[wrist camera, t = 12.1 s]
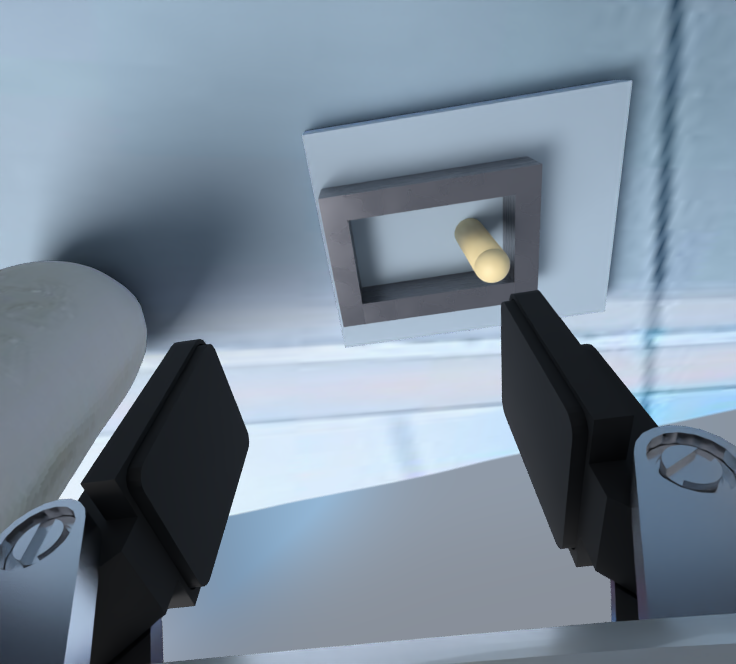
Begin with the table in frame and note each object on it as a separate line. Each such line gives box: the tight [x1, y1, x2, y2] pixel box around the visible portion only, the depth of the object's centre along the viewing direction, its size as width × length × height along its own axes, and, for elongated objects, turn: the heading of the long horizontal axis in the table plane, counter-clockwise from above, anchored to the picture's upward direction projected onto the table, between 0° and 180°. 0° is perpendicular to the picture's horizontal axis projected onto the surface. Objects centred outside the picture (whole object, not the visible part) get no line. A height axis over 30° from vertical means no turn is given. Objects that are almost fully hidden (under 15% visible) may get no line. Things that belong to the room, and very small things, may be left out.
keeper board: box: [302, 80, 633, 348], centre depth 27 cm, size 18×14×8 cm
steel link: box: [318, 156, 542, 327], centre depth 28 cm, size 12×8×2 cm, turn 98°
